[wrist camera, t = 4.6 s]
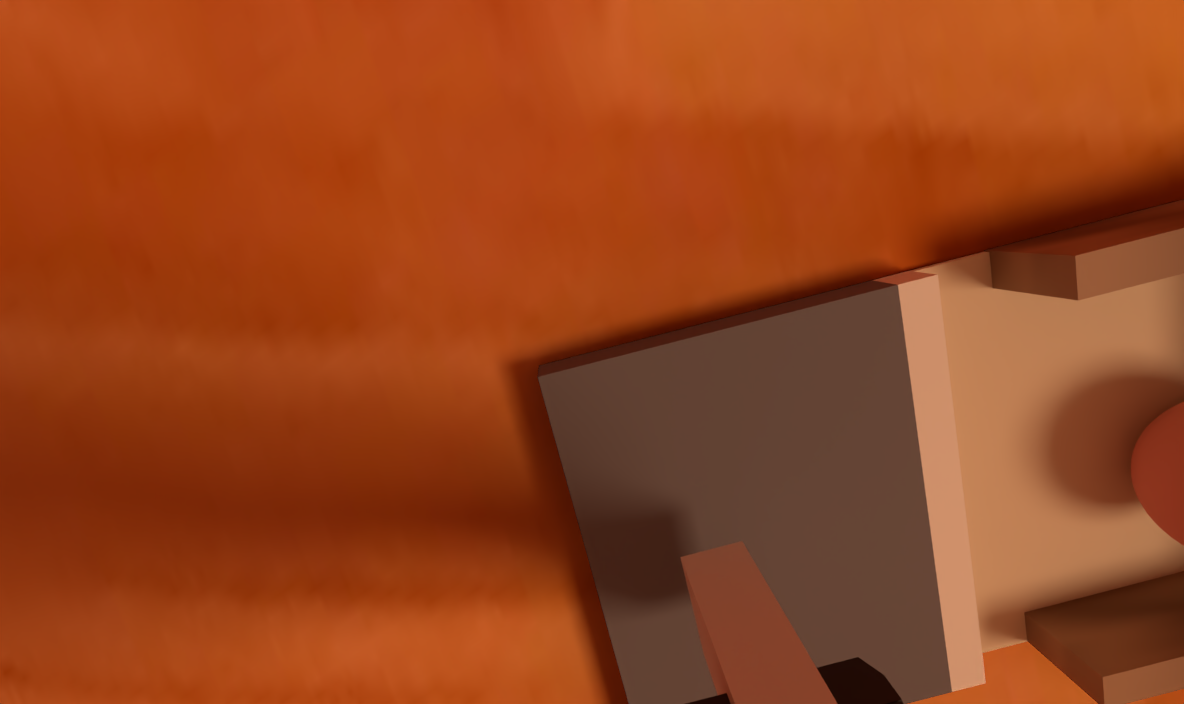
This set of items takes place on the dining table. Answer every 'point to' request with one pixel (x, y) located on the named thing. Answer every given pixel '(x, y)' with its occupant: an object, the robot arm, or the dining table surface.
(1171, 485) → the ball
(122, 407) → the dining table surface
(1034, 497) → the lane mat
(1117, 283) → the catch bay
